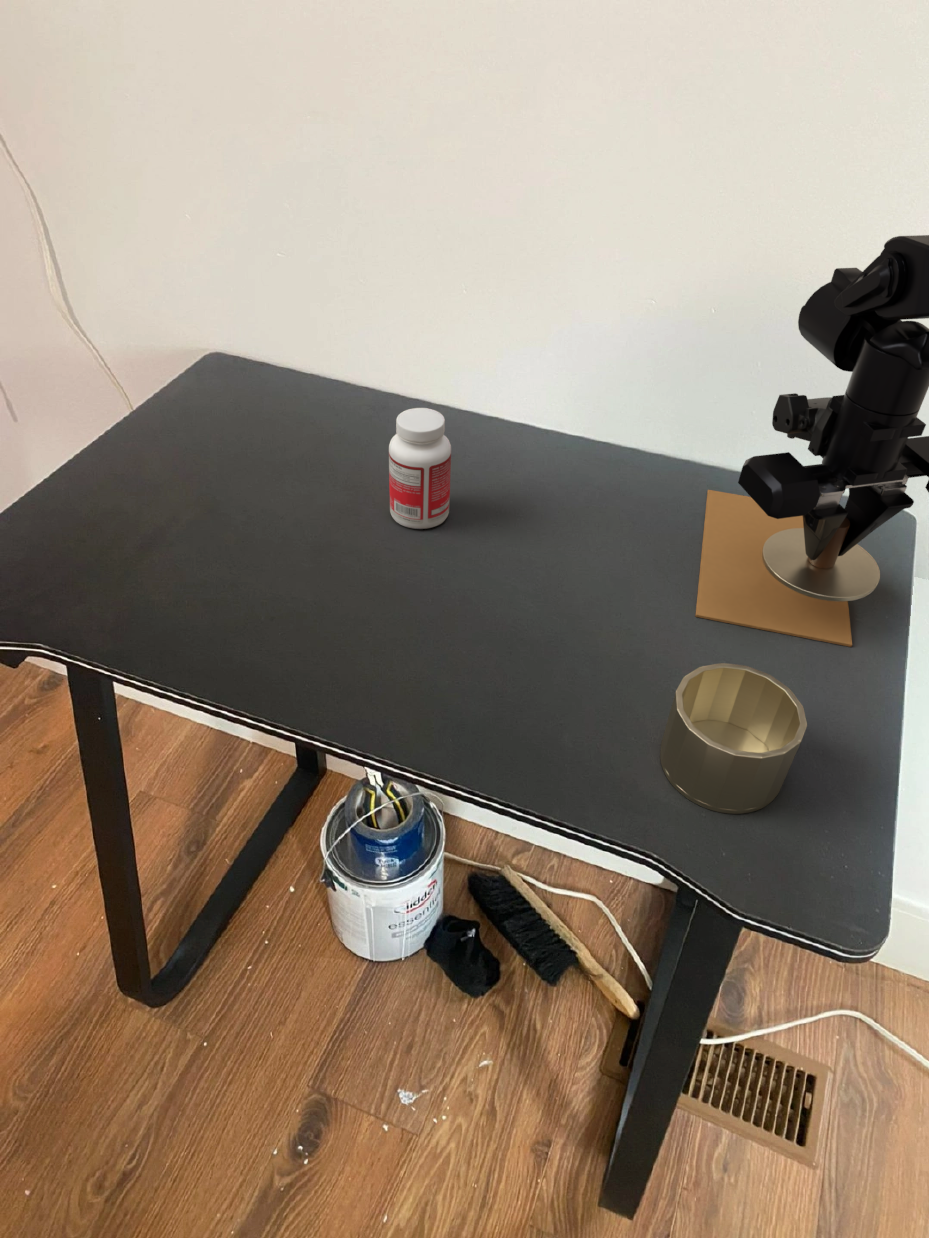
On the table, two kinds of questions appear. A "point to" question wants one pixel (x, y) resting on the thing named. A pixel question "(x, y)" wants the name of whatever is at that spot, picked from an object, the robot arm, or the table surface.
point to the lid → (821, 566)
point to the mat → (757, 576)
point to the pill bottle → (419, 469)
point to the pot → (731, 737)
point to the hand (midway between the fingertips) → (823, 555)
